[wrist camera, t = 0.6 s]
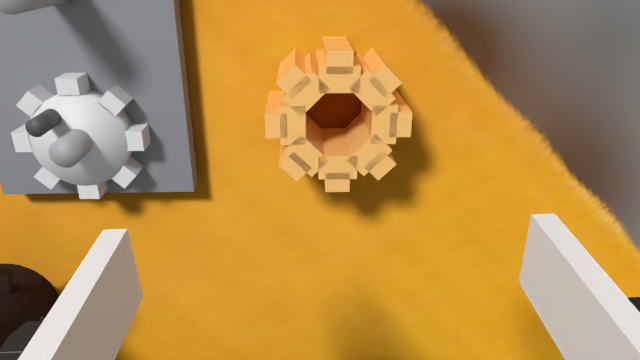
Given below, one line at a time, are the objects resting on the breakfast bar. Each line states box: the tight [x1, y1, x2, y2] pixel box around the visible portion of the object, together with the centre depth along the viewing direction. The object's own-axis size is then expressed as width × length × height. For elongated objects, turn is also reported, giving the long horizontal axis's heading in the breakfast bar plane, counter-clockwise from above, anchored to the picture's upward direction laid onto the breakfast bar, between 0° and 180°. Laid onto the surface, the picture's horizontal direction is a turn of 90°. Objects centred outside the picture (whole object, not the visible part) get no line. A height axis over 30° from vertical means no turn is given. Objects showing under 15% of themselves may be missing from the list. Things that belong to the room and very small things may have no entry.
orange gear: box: [265, 36, 413, 192], centre depth 30 cm, size 8×8×5 cm
